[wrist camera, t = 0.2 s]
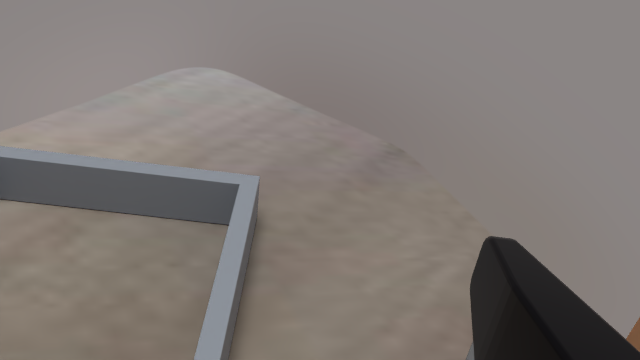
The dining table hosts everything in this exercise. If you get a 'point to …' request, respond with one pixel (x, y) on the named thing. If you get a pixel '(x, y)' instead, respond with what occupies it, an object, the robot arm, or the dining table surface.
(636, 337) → the handle
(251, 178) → the tray
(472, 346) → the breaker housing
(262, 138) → the dining table surface
